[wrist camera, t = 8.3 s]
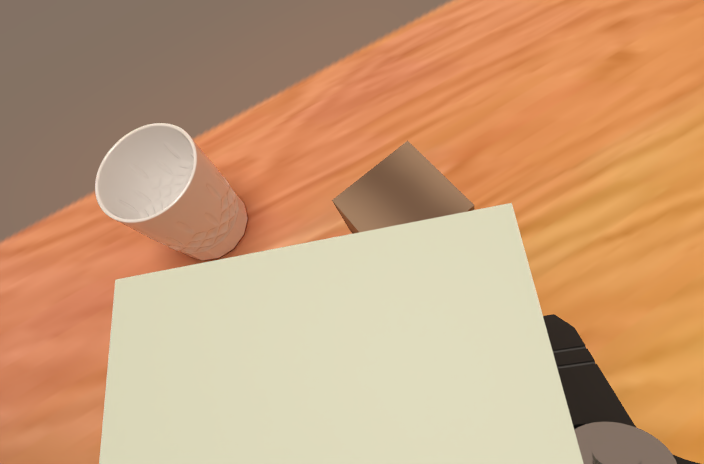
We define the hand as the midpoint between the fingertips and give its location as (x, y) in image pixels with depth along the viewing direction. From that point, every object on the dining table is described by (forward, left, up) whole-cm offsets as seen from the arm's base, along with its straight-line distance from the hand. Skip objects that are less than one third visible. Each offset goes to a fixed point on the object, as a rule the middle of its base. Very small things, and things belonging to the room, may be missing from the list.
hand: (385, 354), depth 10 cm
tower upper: (+6, +10, -20) cm, 23 cm away
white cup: (-6, +24, -26) cm, 35 cm away
